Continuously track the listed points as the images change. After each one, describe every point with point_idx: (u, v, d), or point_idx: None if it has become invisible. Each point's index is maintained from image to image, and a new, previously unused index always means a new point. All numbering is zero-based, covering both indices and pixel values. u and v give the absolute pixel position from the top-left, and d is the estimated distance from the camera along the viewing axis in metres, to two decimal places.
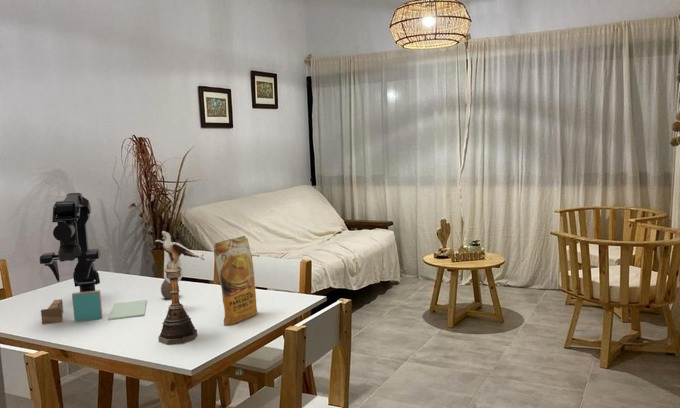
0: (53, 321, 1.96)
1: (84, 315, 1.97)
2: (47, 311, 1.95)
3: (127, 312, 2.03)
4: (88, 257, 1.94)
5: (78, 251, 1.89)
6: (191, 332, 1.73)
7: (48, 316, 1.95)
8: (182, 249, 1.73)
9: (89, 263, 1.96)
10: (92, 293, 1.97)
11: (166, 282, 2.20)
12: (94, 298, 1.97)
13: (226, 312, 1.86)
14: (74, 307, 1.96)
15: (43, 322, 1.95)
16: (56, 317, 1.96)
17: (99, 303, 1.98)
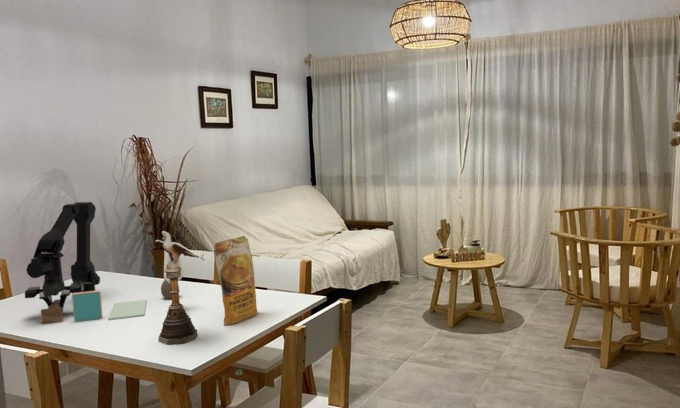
0: (53, 321, 1.96)
1: (84, 315, 1.97)
2: (47, 311, 1.95)
3: (127, 312, 2.03)
4: (71, 291, 2.03)
5: (61, 286, 1.97)
6: (191, 332, 1.73)
7: (48, 316, 1.95)
8: (182, 249, 1.73)
9: (63, 298, 2.03)
10: (92, 293, 1.97)
11: (166, 282, 2.20)
12: (94, 298, 1.97)
13: (226, 312, 1.86)
14: (74, 307, 1.96)
15: (43, 322, 1.95)
16: (56, 317, 1.96)
17: (99, 303, 1.98)
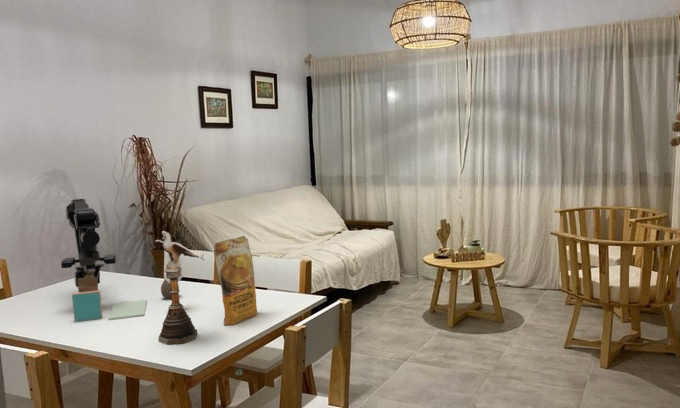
0: (89, 290, 2.03)
1: (84, 315, 1.97)
2: (83, 280, 2.02)
3: (127, 312, 2.03)
4: (106, 262, 2.09)
5: (97, 256, 2.04)
6: (191, 332, 1.73)
7: (84, 285, 2.02)
8: (182, 249, 1.73)
9: (98, 268, 2.10)
10: (92, 293, 1.97)
11: (166, 282, 2.20)
12: (94, 298, 1.97)
13: (226, 312, 1.86)
14: (74, 307, 1.96)
15: (79, 291, 2.02)
16: (92, 286, 2.03)
17: (99, 303, 1.98)
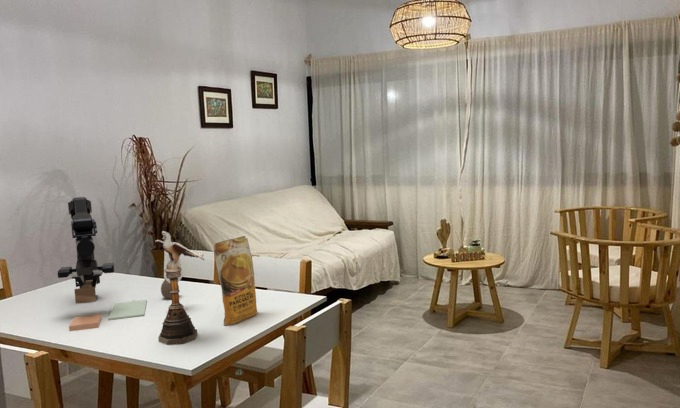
0: (87, 300, 1.95)
1: None
2: (81, 290, 1.94)
3: (127, 312, 2.03)
4: (104, 271, 2.02)
5: (95, 266, 1.96)
6: (191, 332, 1.73)
7: (82, 295, 1.94)
8: (182, 249, 1.73)
9: (96, 278, 2.02)
10: None
11: (166, 282, 2.20)
12: None
13: (226, 312, 1.86)
14: None
15: (77, 301, 1.94)
16: (89, 296, 1.95)
17: (98, 324, 1.93)
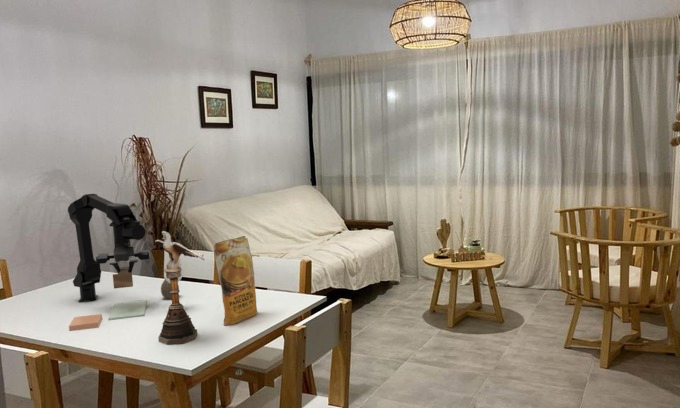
0: (124, 286, 2.01)
1: None
2: (119, 276, 2.01)
3: (127, 312, 2.03)
4: (140, 257, 2.08)
5: (132, 252, 2.03)
6: (191, 332, 1.73)
7: (119, 280, 2.01)
8: (182, 249, 1.73)
9: (132, 264, 2.08)
10: None
11: (166, 282, 2.20)
12: None
13: (226, 312, 1.86)
14: None
15: (115, 286, 2.01)
16: (127, 281, 2.02)
17: (99, 324, 1.93)
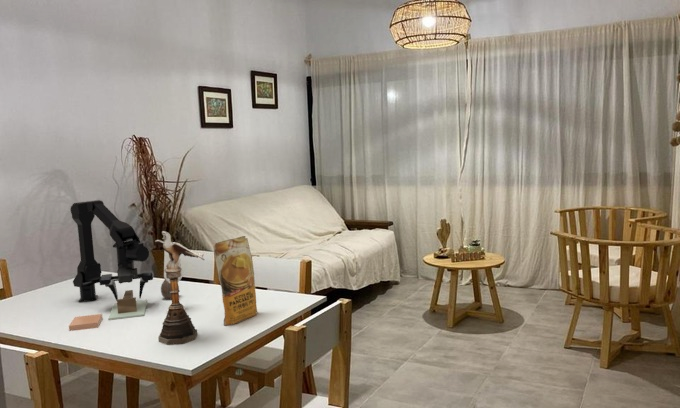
0: (128, 311, 2.03)
1: None
2: (123, 301, 2.02)
3: None
4: (143, 278, 2.09)
5: (135, 273, 2.04)
6: (191, 332, 1.73)
7: (123, 306, 2.02)
8: (182, 249, 1.73)
9: (143, 284, 2.11)
10: None
11: (166, 282, 2.20)
12: None
13: (226, 312, 1.86)
14: None
15: (119, 311, 2.02)
16: (131, 306, 2.03)
17: (99, 324, 1.93)
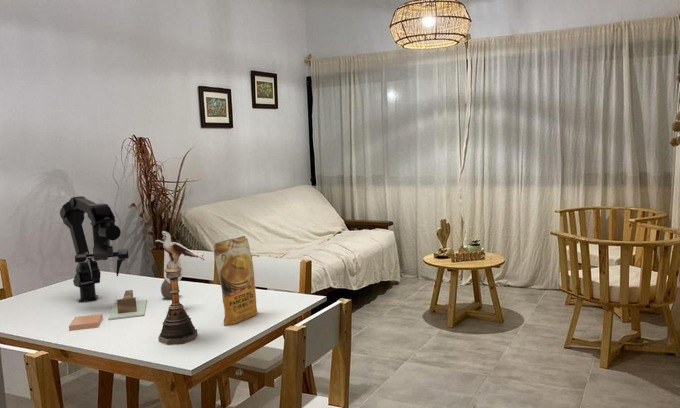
0: (128, 311, 2.03)
1: None
2: (123, 301, 2.02)
3: None
4: (119, 256, 2.11)
5: (111, 251, 2.05)
6: (191, 332, 1.73)
7: (123, 306, 2.02)
8: (182, 249, 1.73)
9: (120, 262, 2.12)
10: None
11: (166, 282, 2.20)
12: None
13: (226, 312, 1.86)
14: None
15: (119, 311, 2.02)
16: (131, 306, 2.03)
17: (99, 324, 1.93)
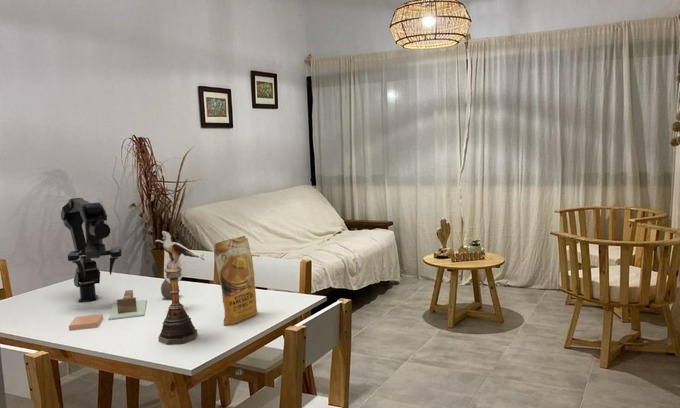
0: (128, 311, 2.03)
1: None
2: (123, 301, 2.02)
3: None
4: (112, 255, 2.11)
5: (103, 249, 2.06)
6: (191, 332, 1.73)
7: (123, 306, 2.02)
8: (182, 249, 1.73)
9: (113, 260, 2.12)
10: None
11: (166, 282, 2.20)
12: None
13: (226, 312, 1.86)
14: None
15: (119, 311, 2.02)
16: (131, 306, 2.03)
17: (99, 324, 1.93)
